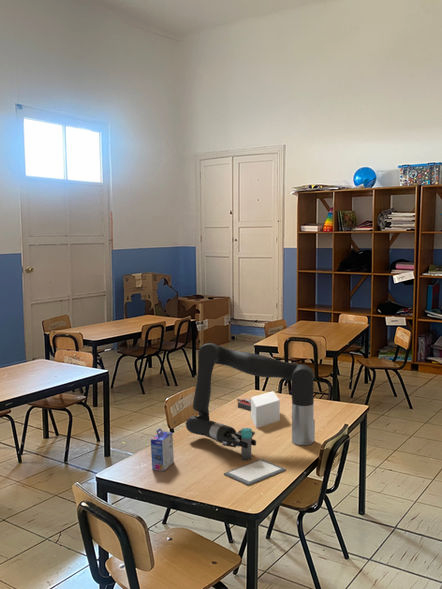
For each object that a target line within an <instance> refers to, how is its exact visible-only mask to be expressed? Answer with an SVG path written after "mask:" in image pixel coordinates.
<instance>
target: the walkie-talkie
mask: <svg viewBox="0 0 442 589" xmlns="http://www.w3.org/2000/svg"><path fill="white" fill-rule="evenodd" d="M236 401H237V408H238V409H242V408H243V410H246V411H250V412H251V399H248V398H243V399H240V398H237V399H236Z"/></svg>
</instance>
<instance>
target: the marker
mask: <svg viewBox="0 0 442 589" xmlns="http://www.w3.org/2000/svg"><path fill="white" fill-rule="evenodd" d="M240 430H241V441H243V442H246V443H248V448H247V449H246V448H243V447H241V448H240V449H241V454H240V455H241V460H242V461H251V460H252V445H251V438H252V439H253V436H252V431H253V430H252V428H249V427H244V428H241V429H240Z"/></svg>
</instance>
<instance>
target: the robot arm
mask: <svg viewBox="0 0 442 589" xmlns="http://www.w3.org/2000/svg"><path fill="white" fill-rule="evenodd" d="M197 353H198V355H197V378H196V384H195V389H194V396H193V401H192V402H193V403H192V409H193V410H194V411H195V412H198V416H197V415H195V416H189V417H188V418H187V419H186V422H185V428H186V429H187V431H188V432H189V433H191V434H195V435H198V436H204V437H207V438H209V439H211V440H214V441H216V442H218V443H220V444H222V446H224V447H231V448H239V447H243V448H246V449H247V448H248V443H246V442H243V441H241V433H238V432H239V431H236V429H235V428H234V427H232V426H230V425H226V424H224V423H219V422H216V421H213V420H210V411H209V406H210V400H211V395H212V394H211V393H212V375H213V371H214V367H215V365H222V366H226V367H230V368H233V369H235V370H237V371H240V372H242V373H245V374H247V375H252V376H255V377H259V378H279V379H283V380H287V381H290V382H291V442H292V443H293V444H294V445H297V446H310V445H312V444H313V443H314V442H315V436H316V433H315V432H316V431H315V430H316V429H315V428H316V427H315V426H316V424H315V423H316V421H315V418H314V411H315V410H314V407H315V405H314V404H315V403H314V402H315V399H314V398H315V397H314V386H315V385H314V379H315V372H314V369H313V368H312V367H310V366H309V365H306V364H303V363H302V364H299V363H293V362H286V361H282V360H279V359H276V358H272V357H269V356H265V355H262V354H258V353H253V352H249V351H248V352H247V351H241V350H233V349H229V348H227V347H223V346H220V345H218V344H216V343H213V342H209V343H204V344H203V345H201V346H200V347H199V348H198V352H197ZM251 446H253V447H255V446H257V440H255V439H253V437H252V438H251Z"/></svg>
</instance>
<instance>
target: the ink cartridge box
mask: <svg viewBox="0 0 442 589" xmlns="http://www.w3.org/2000/svg"><path fill="white" fill-rule="evenodd" d="M155 431H156V432H155V433H156V435H154V436H153V437H152V438H151V439H150V450H151V451H150V452H151V454H150V455H151V468H152V470H153V471H160V472H164V471H165V470H166V469H168V467H170V466H171V465H172V464H173V463H174V462H175V461H174V458H175V457H174V456H175V455H174V454H175V453H174V437H173V436H174V434H173V432H171V431H163V430H162V428H158V429H157V430H155Z"/></svg>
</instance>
